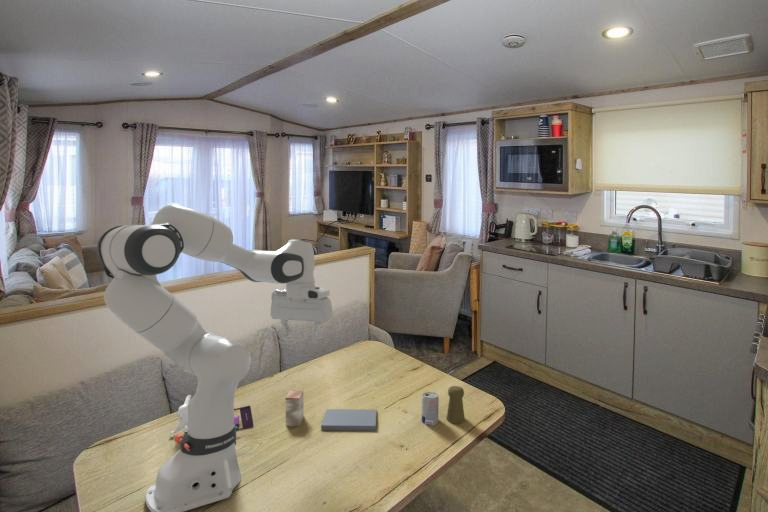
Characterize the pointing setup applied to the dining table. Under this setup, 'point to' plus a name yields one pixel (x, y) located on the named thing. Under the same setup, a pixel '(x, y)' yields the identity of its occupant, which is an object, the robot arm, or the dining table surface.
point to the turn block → (294, 408)
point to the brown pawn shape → (455, 405)
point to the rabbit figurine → (183, 416)
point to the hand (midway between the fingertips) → (301, 334)
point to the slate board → (349, 419)
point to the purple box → (244, 418)
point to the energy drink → (430, 408)
